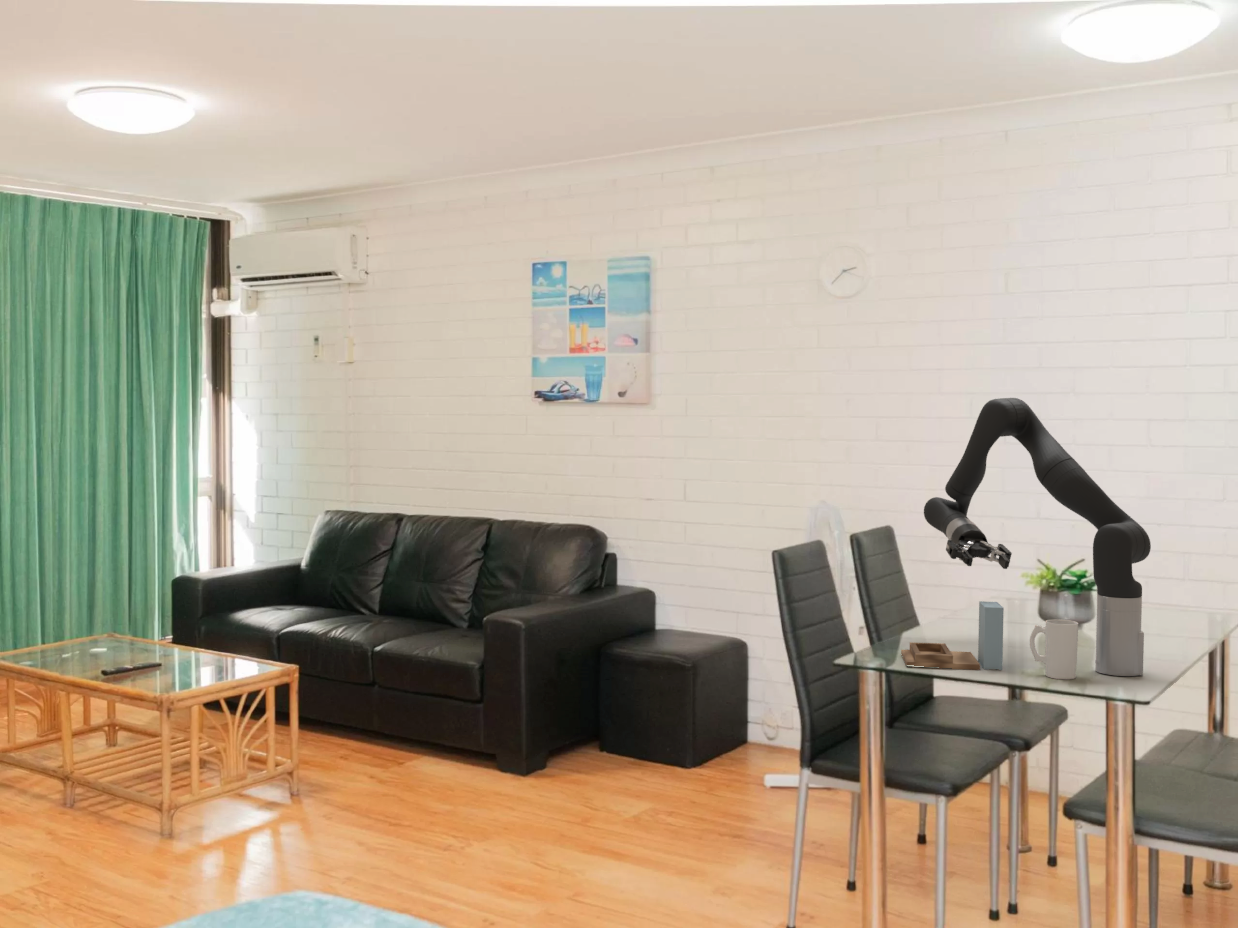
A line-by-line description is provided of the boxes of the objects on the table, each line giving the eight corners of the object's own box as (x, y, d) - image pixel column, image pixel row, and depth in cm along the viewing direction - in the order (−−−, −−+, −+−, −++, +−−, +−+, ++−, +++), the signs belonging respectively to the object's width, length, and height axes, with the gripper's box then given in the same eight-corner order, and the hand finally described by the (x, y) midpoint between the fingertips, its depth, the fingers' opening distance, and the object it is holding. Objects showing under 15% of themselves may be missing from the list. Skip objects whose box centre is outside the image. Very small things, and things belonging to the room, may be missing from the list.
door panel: (995, 662, 282) (997, 601, 282) (1002, 669, 273) (1003, 607, 273) (978, 661, 283) (979, 601, 282) (983, 669, 274) (985, 607, 273)
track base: (970, 656, 288) (970, 644, 288) (979, 669, 273) (980, 656, 273) (901, 654, 290) (901, 641, 290) (906, 667, 275) (906, 653, 275)
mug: (1079, 675, 268) (1080, 621, 267) (1074, 681, 262) (1075, 625, 262) (1032, 670, 273) (1033, 617, 272) (1026, 675, 267) (1027, 621, 267)
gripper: (940, 520, 295) (961, 546, 280) (997, 525, 297) (1021, 551, 281) (934, 549, 298) (955, 576, 283) (991, 553, 299) (1015, 580, 284)
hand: (988, 563), depth 282 cm, fingers open, 8 cm apart
